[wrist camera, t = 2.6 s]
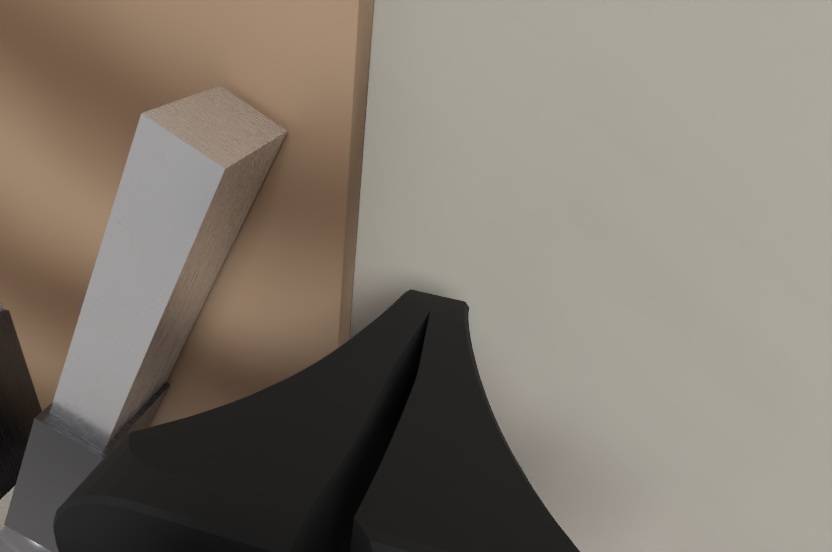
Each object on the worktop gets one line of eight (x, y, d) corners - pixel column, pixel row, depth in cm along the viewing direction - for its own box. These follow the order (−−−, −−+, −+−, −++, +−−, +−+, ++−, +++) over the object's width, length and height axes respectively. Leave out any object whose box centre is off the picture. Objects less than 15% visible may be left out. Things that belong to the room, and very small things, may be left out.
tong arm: (110, 520, 20) (52, 592, 18) (53, 487, 20) (-14, 557, 18) (303, 141, 11) (237, 188, 9) (203, 73, 11) (106, 102, 9)
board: (333, 551, 20) (323, 576, 19) (-76, 432, 23) (-101, 450, 22) (375, -19, 11) (359, -18, 10) (-355, -130, 13) (-419, -137, 12)
